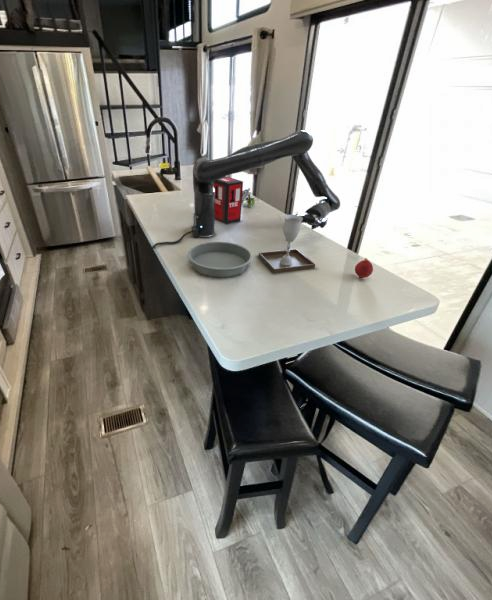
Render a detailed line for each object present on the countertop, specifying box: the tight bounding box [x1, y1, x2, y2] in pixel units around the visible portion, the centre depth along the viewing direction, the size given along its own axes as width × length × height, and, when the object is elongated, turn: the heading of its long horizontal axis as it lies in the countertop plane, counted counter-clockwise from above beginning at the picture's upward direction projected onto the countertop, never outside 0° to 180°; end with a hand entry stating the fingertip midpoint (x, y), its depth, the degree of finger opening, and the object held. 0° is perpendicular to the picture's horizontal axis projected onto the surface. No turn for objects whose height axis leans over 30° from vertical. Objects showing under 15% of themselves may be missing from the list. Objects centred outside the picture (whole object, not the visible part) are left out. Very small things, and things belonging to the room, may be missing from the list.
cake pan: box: [187, 241, 253, 278], centre depth 123 cm, size 25×25×4 cm
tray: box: [257, 248, 316, 274], centre depth 126 cm, size 17×15×2 cm
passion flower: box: [242, 187, 259, 209], centre depth 189 cm, size 11×11×12 cm
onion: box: [354, 257, 374, 280], centre depth 114 cm, size 6×6×8 cm
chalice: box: [280, 214, 303, 265], centre depth 121 cm, size 7×7×18 cm
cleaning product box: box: [214, 175, 244, 225], centre depth 165 cm, size 16×9×20 cm, turn 34°
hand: (302, 224), depth 127 cm, fingers open, 8 cm apart
